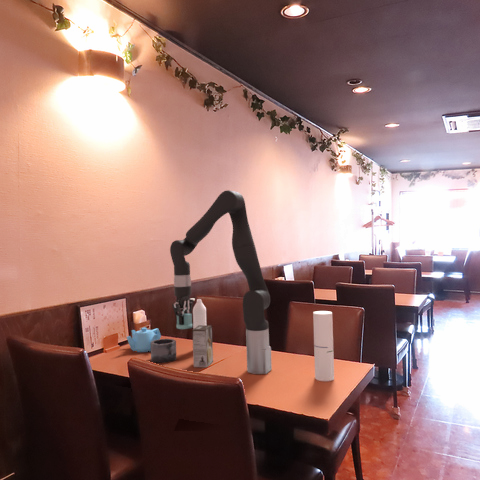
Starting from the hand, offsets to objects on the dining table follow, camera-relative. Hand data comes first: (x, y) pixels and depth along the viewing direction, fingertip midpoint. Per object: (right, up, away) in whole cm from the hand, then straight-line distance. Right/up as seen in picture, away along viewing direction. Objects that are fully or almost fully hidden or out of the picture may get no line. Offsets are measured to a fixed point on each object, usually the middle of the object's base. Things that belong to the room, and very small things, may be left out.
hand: (183, 323), depth 187 cm
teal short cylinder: (0, -2, 0) cm, 2 cm away
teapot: (-23, -18, +24) cm, 38 cm away
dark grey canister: (-10, -17, +5) cm, 21 cm away
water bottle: (+5, -17, +19) cm, 26 cm away
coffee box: (+9, -17, -4) cm, 20 cm away
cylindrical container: (+57, -16, -26) cm, 65 cm away
